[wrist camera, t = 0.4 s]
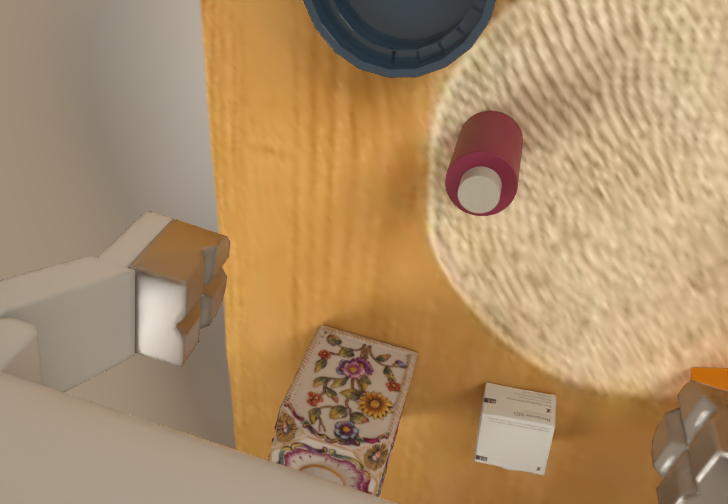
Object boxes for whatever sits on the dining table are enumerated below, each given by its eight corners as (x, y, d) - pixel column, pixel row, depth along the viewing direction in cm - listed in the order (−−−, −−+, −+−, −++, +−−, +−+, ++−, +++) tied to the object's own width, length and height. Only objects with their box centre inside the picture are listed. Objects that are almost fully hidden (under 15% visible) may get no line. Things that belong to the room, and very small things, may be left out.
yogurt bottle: (469, 102, 58) (453, 151, 50) (531, 121, 58) (527, 174, 49) (451, 159, 62) (433, 214, 53) (510, 177, 61) (502, 236, 52)
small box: (557, 392, 73) (557, 427, 69) (545, 442, 77) (545, 478, 73) (485, 380, 74) (480, 413, 70) (477, 429, 79) (473, 463, 74)
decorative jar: (319, 320, 76) (261, 439, 61) (419, 348, 74) (385, 477, 59) (308, 394, 82) (253, 517, 67) (400, 421, 81) (364, 553, 66)
